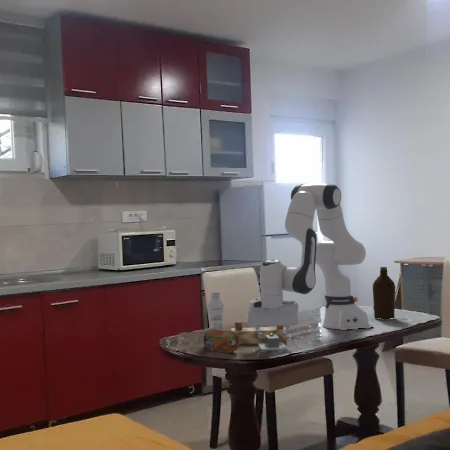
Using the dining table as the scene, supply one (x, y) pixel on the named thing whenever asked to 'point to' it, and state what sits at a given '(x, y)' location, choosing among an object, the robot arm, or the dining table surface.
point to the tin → (221, 340)
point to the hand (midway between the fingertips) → (272, 337)
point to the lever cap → (272, 340)
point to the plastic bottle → (216, 312)
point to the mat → (264, 347)
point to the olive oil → (384, 296)
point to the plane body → (252, 335)
